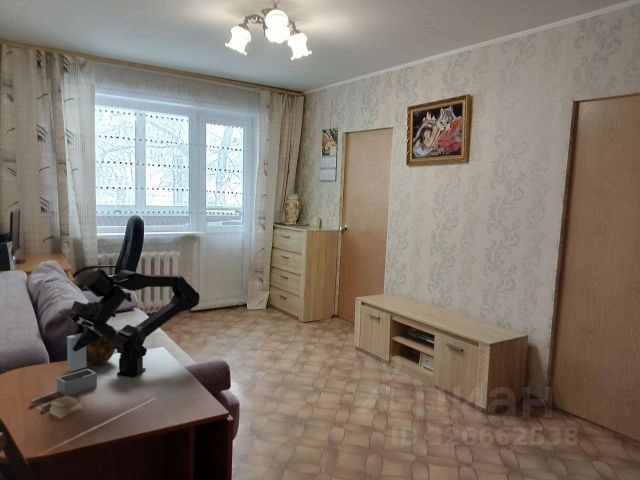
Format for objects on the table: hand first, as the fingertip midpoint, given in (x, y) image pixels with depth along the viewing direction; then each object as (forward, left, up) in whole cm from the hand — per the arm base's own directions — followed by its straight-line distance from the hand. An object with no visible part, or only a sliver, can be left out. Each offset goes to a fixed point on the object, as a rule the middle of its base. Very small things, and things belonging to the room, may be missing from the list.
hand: (71, 349), depth 134 cm
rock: (+8, -20, -13) cm, 25 cm away
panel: (-1, -1, -6) cm, 6 cm away
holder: (-1, -1, -13) cm, 13 cm away
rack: (-3, +10, -13) cm, 16 cm away
